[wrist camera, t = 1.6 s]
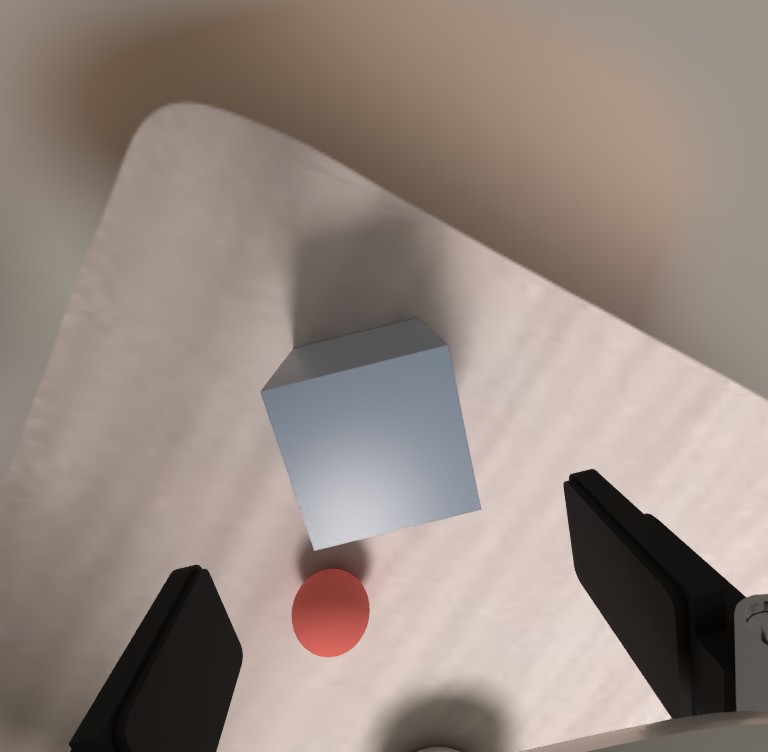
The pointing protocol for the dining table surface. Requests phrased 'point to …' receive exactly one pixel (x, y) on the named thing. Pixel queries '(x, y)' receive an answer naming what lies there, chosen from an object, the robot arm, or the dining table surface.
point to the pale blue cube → (372, 433)
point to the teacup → (438, 749)
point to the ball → (330, 612)
